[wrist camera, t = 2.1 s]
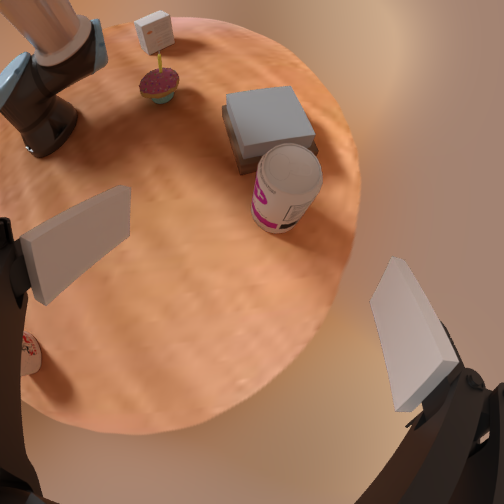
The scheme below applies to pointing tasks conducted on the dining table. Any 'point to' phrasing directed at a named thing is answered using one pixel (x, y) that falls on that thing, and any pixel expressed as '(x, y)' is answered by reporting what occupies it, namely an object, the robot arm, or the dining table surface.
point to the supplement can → (285, 187)
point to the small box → (155, 32)
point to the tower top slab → (268, 120)
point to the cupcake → (159, 84)
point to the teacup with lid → (30, 355)
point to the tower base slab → (243, 164)
